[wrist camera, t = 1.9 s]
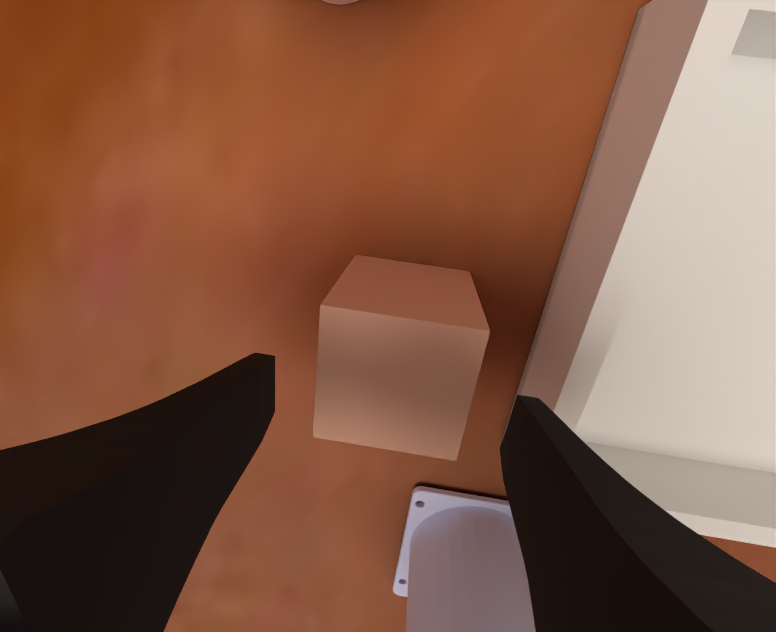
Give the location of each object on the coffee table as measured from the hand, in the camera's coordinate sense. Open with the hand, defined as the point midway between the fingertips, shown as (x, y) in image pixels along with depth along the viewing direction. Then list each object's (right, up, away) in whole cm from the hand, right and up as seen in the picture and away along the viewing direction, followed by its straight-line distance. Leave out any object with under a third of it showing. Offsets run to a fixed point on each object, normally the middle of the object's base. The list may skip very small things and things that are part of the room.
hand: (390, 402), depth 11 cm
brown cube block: (+1, +3, +6) cm, 7 cm away
